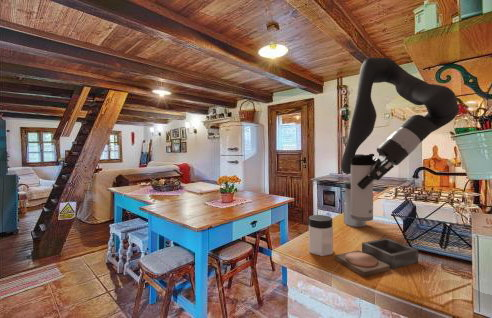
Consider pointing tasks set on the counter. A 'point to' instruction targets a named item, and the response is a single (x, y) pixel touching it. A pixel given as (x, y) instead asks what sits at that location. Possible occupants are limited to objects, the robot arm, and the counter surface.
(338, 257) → the mug dock
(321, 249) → the jar
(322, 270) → the counter surface
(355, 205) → the travel mug
